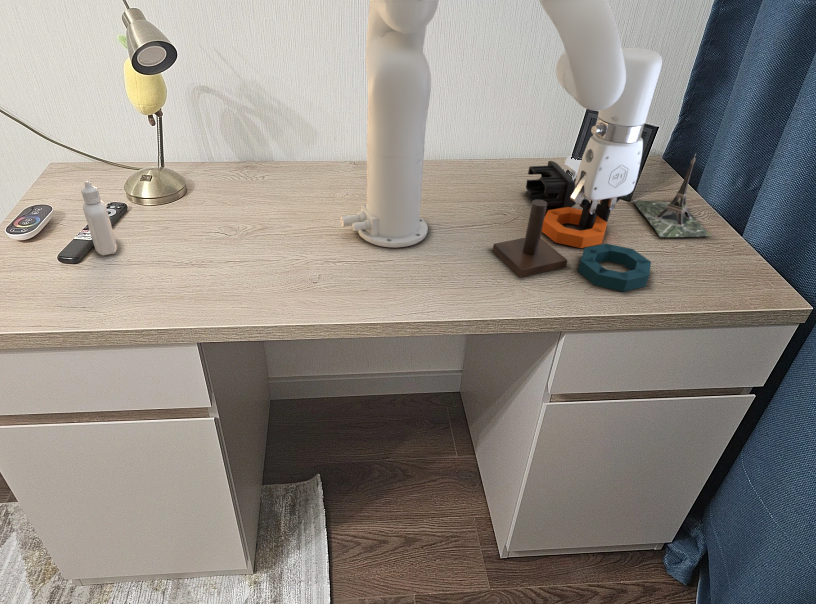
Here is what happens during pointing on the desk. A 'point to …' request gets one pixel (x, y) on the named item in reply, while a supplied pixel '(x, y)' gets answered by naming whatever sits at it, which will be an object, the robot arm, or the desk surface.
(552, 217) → the orange ring
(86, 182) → the eye dropper bottle
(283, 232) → the desk surface
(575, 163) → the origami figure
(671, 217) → the eiffel tower figurine
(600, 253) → the teal ring
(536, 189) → the end cap
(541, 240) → the peg stand
